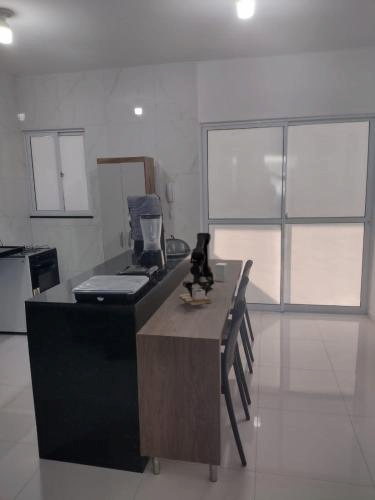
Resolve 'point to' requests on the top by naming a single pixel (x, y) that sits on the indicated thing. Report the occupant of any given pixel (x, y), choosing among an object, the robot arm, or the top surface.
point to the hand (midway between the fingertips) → (198, 296)
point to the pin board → (191, 301)
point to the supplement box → (221, 272)
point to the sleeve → (198, 295)
